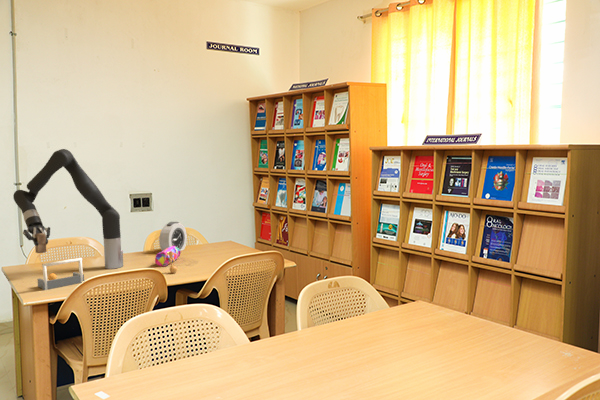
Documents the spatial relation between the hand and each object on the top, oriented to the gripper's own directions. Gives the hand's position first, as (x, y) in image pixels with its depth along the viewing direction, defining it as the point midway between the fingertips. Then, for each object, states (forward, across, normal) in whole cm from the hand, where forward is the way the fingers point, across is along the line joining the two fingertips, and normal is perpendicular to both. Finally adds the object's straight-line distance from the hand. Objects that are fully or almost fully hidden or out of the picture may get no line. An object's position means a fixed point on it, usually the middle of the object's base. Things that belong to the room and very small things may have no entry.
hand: (42, 244), depth 263 cm
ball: (+20, 0, +3) cm, 20 cm away
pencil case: (+27, +64, -2) cm, 69 cm away
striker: (+2, 0, +5) cm, 5 cm away
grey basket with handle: (+28, 0, -3) cm, 28 cm away
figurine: (+43, +51, -19) cm, 70 cm away
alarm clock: (+6, +86, +18) cm, 88 cm away
